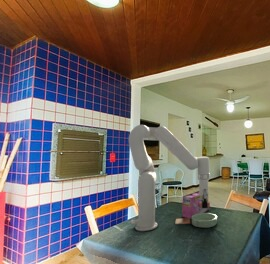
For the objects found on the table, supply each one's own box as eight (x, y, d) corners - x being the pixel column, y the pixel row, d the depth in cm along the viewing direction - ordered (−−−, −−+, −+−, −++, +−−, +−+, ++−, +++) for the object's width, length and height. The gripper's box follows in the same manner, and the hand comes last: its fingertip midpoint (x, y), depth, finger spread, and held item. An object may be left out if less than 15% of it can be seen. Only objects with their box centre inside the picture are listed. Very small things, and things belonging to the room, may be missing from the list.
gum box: (200, 208, 153) (200, 190, 155) (209, 209, 149) (209, 191, 150) (181, 217, 133) (181, 196, 134) (191, 219, 129) (191, 197, 130)
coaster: (175, 224, 120) (175, 223, 120) (176, 219, 129) (175, 218, 129) (190, 223, 121) (190, 223, 121) (189, 218, 130) (189, 218, 130)
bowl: (192, 228, 113) (192, 221, 113) (191, 219, 128) (191, 213, 128) (218, 227, 114) (218, 220, 114) (214, 218, 129) (214, 212, 129)
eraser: (199, 208, 120) (199, 203, 120) (199, 206, 123) (199, 201, 123) (209, 207, 120) (209, 202, 121) (209, 206, 124) (209, 201, 124)
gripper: (197, 175, 131) (197, 204, 129) (198, 178, 115) (199, 211, 113) (208, 174, 132) (209, 203, 130) (211, 178, 115) (212, 210, 114)
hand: (204, 206), depth 122 cm, fingers closed on eraser, 3 cm apart
